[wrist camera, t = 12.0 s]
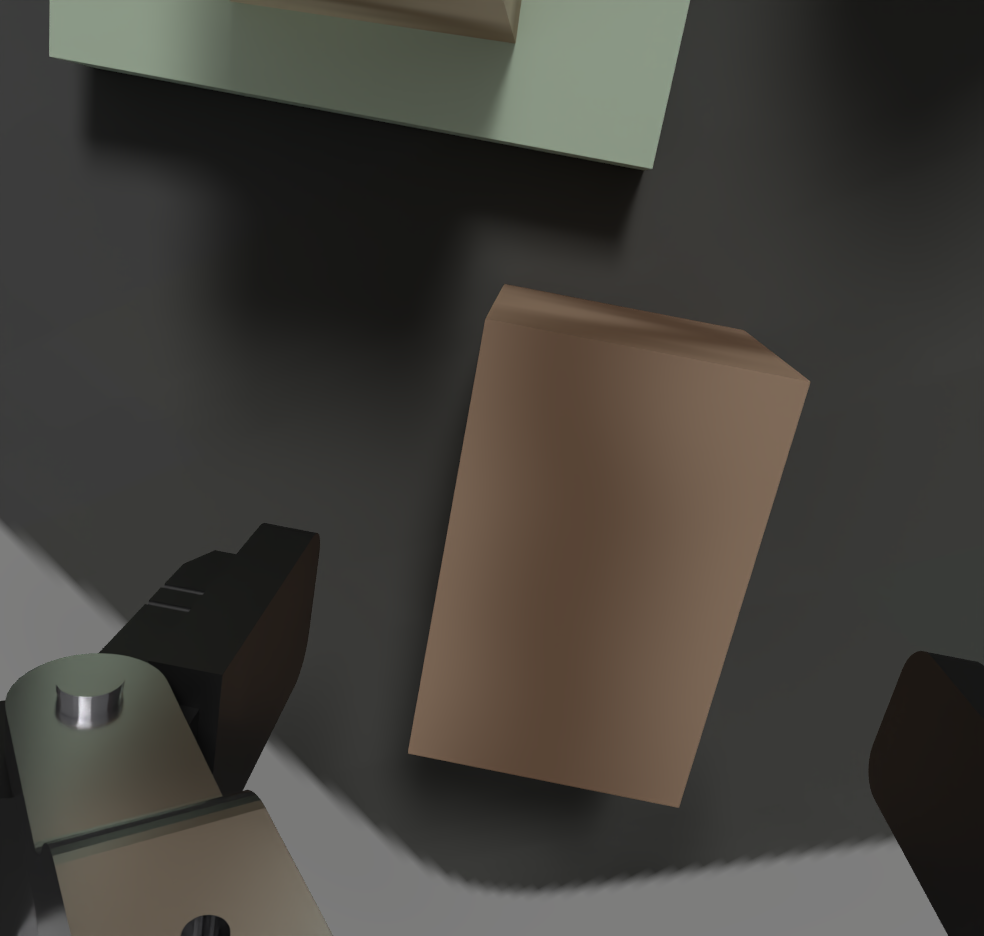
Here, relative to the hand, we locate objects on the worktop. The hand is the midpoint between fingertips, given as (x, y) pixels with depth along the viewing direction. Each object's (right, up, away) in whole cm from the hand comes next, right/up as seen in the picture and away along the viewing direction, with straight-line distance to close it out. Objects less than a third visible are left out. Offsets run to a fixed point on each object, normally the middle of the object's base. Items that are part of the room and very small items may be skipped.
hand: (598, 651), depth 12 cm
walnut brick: (+1, +2, +7) cm, 8 cm away
